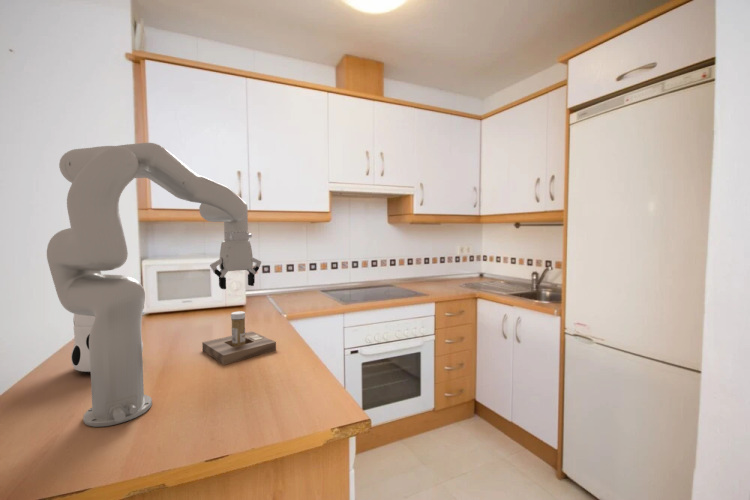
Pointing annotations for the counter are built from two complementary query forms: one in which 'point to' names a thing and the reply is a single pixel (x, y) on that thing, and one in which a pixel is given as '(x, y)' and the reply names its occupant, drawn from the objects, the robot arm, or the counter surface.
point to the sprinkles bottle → (238, 328)
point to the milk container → (82, 343)
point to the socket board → (238, 348)
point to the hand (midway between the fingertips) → (237, 287)
